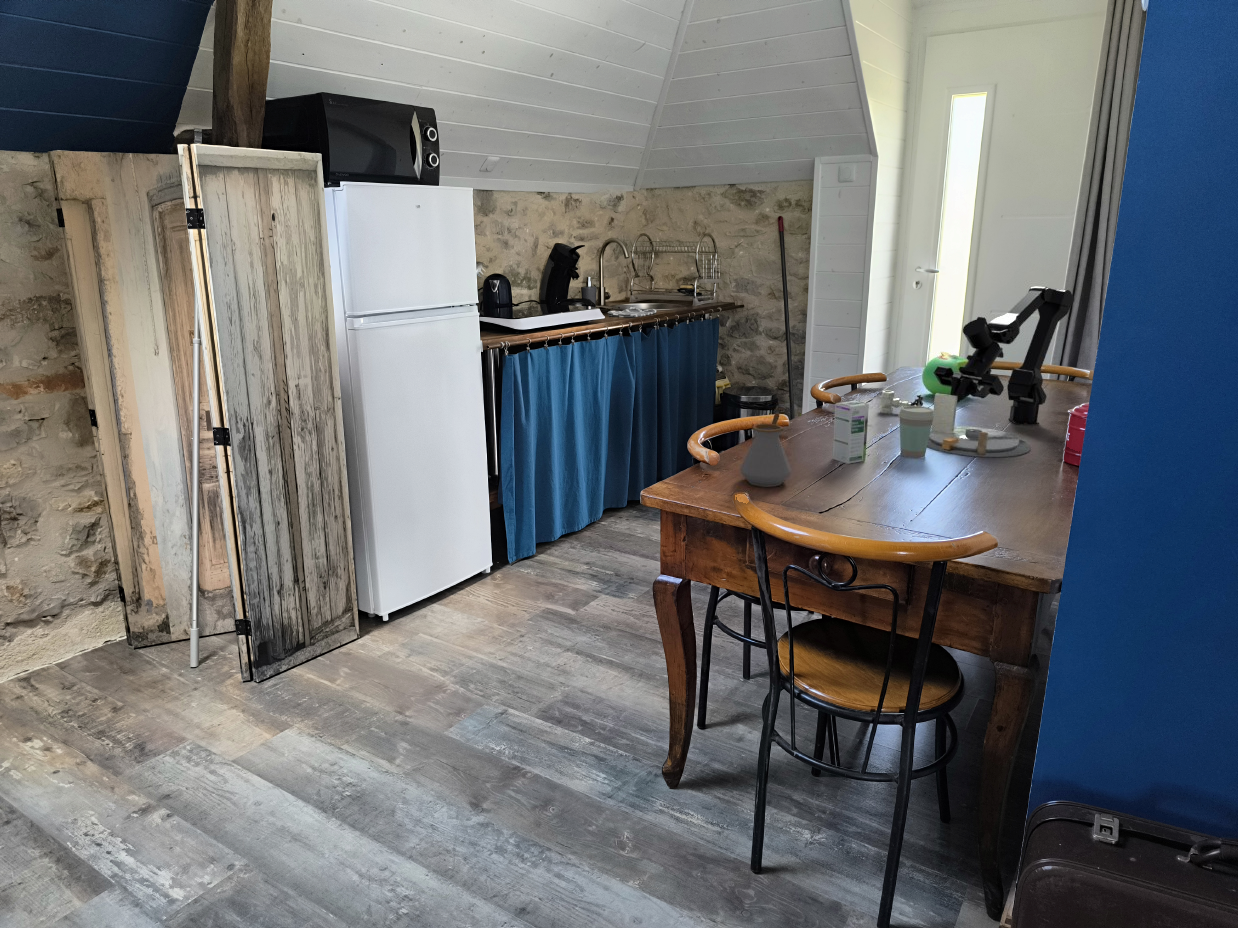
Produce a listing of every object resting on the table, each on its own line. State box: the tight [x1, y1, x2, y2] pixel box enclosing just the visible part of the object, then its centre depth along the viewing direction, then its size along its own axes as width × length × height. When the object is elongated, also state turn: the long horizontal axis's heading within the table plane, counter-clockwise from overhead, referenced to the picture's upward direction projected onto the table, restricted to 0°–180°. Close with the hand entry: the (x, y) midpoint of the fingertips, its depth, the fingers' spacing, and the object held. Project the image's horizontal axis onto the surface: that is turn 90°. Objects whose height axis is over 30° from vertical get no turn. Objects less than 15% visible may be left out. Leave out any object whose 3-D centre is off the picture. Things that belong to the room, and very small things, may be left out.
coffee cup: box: [897, 406, 935, 459], centre depth 207 cm, size 8×8×12 cm
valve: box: [879, 390, 924, 414], centre depth 253 cm, size 7×7×12 cm
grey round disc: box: [927, 438, 1031, 459], centre depth 219 cm, size 28×28×1 cm
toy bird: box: [921, 351, 968, 395], centre depth 277 cm, size 18×17×15 cm
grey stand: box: [929, 393, 1020, 452], centre depth 217 cm, size 22×24×11 cm
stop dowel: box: [977, 432, 988, 456], centre depth 207 cm, size 2×2×6 cm
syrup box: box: [832, 400, 870, 465], centre depth 203 cm, size 6×6×14 cm
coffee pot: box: [739, 404, 792, 488], centre depth 191 cm, size 21×12×15 cm, turn 158°
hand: (951, 404), depth 222 cm, fingers closed
